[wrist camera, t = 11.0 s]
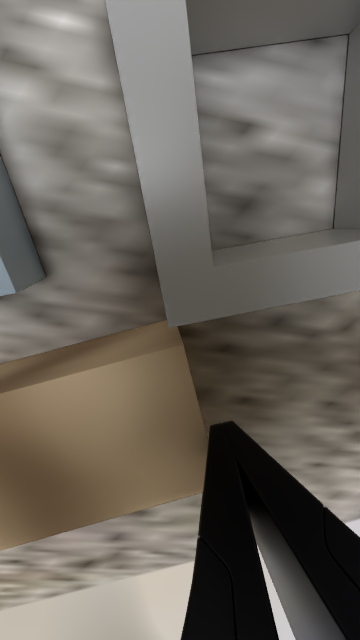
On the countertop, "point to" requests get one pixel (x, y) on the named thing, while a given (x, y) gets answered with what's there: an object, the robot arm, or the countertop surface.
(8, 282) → the tray
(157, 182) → the socket block
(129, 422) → the board
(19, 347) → the countertop surface
